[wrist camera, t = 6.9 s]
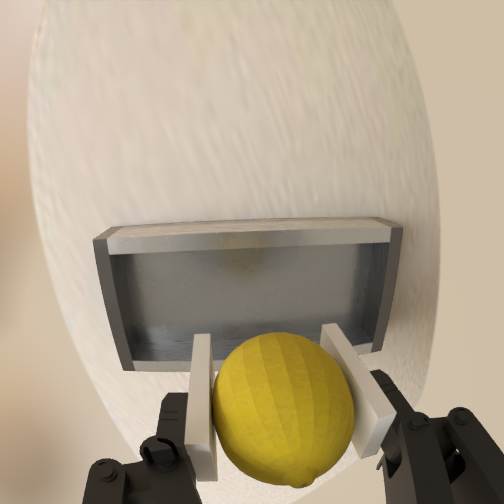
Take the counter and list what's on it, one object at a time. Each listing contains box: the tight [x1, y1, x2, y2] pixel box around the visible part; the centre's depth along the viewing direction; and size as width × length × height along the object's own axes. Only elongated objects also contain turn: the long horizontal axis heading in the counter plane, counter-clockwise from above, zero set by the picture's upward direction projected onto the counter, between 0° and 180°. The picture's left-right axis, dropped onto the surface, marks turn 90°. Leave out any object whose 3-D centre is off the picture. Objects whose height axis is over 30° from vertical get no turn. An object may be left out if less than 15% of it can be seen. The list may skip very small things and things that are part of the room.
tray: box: [93, 217, 403, 372], centre depth 20 cm, size 10×20×4 cm, turn 91°
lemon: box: [212, 332, 354, 488], centre depth 11 cm, size 6×6×8 cm
